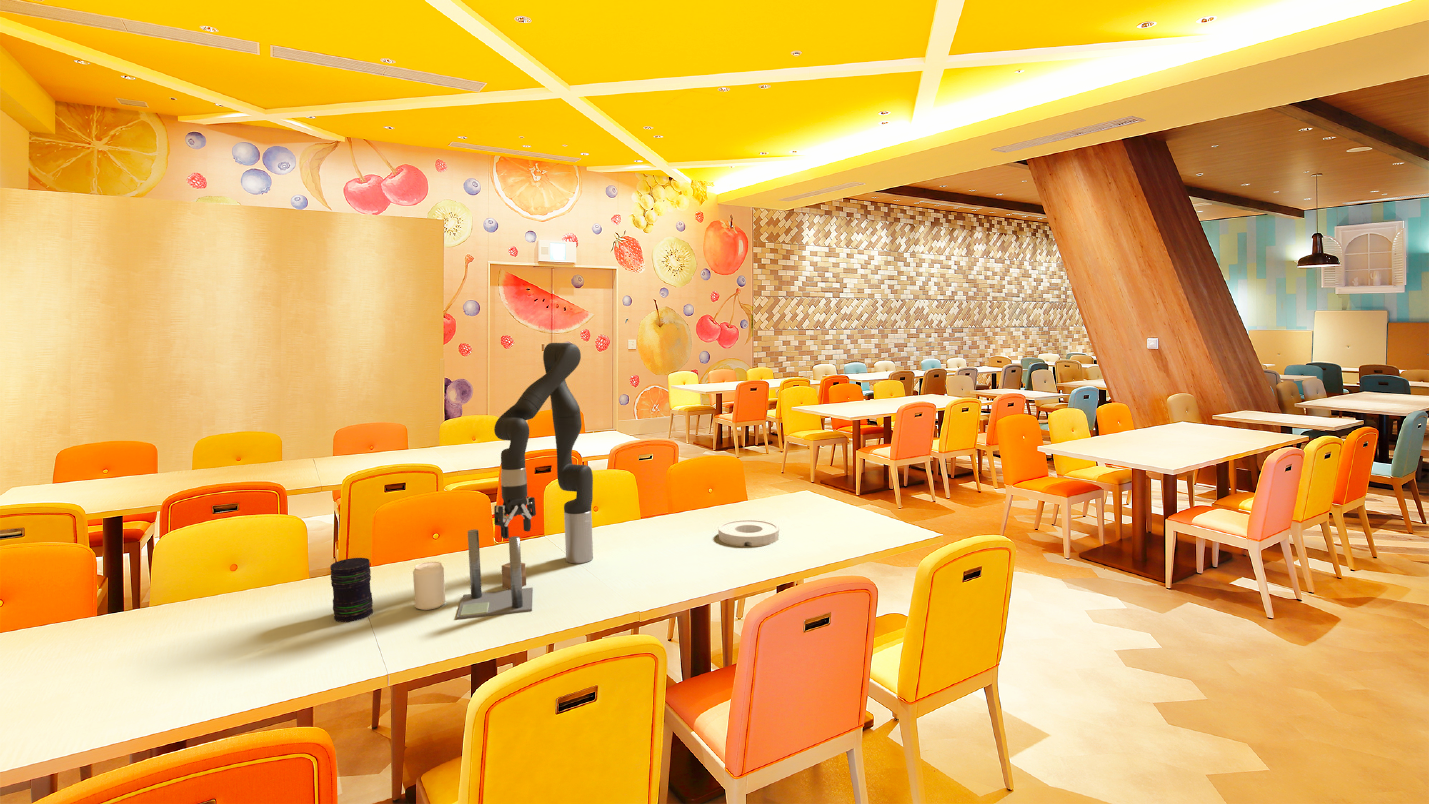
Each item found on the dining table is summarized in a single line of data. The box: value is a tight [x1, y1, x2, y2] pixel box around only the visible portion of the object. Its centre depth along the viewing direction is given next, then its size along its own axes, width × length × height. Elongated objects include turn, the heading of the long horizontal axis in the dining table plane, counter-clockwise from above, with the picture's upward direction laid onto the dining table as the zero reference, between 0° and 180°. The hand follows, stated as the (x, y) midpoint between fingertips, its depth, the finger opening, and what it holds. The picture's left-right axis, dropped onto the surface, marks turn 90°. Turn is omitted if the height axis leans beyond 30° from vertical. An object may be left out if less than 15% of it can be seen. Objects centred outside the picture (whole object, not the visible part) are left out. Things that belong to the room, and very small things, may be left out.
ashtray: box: [717, 519, 780, 547], centre depth 258 cm, size 23×23×4 cm
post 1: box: [467, 529, 483, 599], centre depth 199 cm, size 3×3×20 cm
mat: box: [456, 587, 534, 620], centre depth 197 cm, size 17×20×1 cm
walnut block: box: [501, 562, 527, 590], centre depth 210 cm, size 5×5×7 cm
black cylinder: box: [329, 557, 374, 623], centre depth 189 cm, size 10×10×15 cm
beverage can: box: [412, 560, 446, 611], centre depth 195 cm, size 8×8×12 cm
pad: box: [461, 603, 488, 614], centre depth 191 cm, size 7×7×1 cm
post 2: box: [508, 535, 523, 609], centre depth 192 cm, size 3×3×20 cm
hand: (516, 534), depth 208 cm, fingers open, 8 cm apart
